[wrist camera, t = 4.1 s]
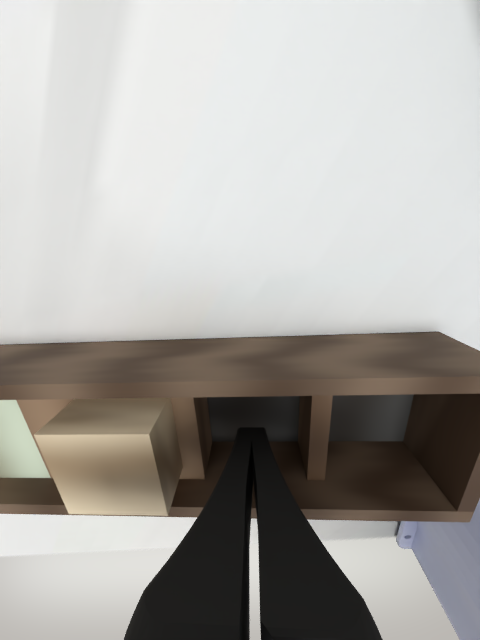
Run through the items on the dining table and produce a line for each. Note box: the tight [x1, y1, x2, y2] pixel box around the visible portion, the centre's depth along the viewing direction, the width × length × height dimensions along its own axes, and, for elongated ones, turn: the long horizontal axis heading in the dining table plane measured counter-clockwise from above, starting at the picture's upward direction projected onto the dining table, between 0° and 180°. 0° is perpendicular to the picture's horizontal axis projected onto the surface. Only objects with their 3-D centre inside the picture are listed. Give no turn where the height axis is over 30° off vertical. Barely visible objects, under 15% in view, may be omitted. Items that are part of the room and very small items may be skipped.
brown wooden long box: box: [0, 332, 480, 522], centre depth 13 cm, size 32×9×4 cm, turn 93°
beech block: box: [34, 398, 183, 516], centre depth 11 cm, size 5×5×2 cm
